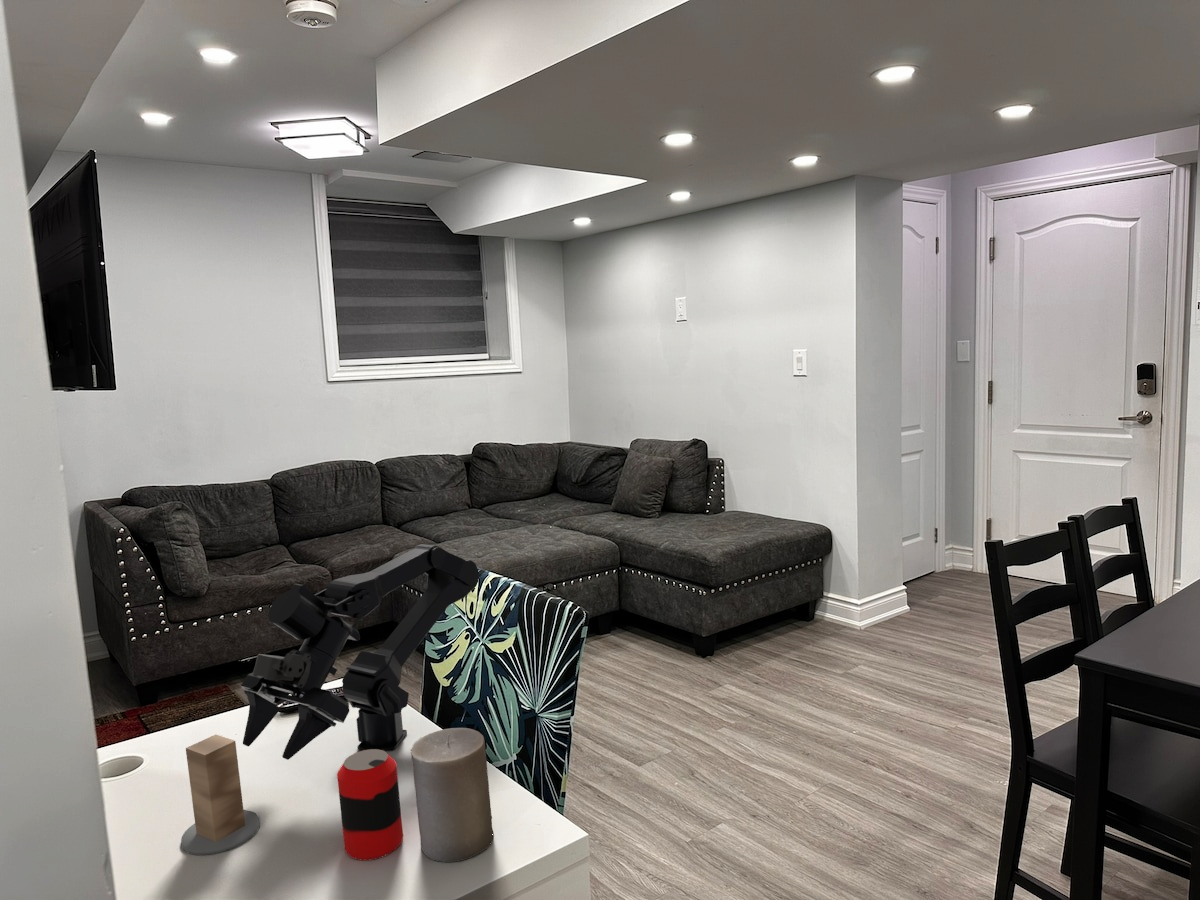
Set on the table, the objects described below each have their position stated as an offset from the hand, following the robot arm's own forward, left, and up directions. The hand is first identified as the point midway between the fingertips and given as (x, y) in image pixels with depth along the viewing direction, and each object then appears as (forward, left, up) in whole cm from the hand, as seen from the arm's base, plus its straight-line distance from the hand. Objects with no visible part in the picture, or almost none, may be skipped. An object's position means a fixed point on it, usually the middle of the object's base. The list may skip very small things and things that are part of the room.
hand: (264, 751), depth 123 cm
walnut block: (+3, +7, -8) cm, 11 cm away
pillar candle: (-31, +8, -9) cm, 33 cm away
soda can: (-20, +9, -9) cm, 23 cm away
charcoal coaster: (+3, +7, -8) cm, 12 cm away
